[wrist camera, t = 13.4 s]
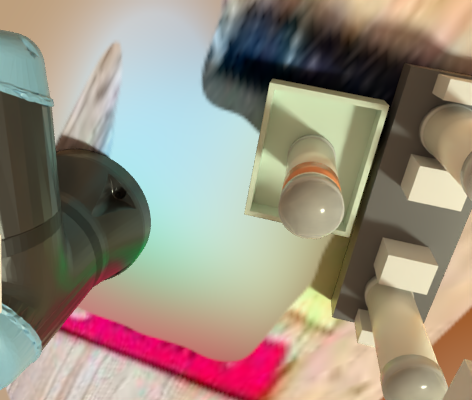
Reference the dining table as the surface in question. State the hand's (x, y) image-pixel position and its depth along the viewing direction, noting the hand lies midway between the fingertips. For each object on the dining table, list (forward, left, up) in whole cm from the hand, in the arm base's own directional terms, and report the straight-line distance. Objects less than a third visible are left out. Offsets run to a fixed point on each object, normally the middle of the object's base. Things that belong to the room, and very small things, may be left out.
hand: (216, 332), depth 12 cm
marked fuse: (+4, -4, -32) cm, 33 cm away
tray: (+4, -4, -33) cm, 33 cm away
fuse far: (+14, -15, -30) cm, 36 cm away
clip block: (+14, -7, -33) cm, 36 cm away
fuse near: (+14, +2, -30) cm, 33 cm away
